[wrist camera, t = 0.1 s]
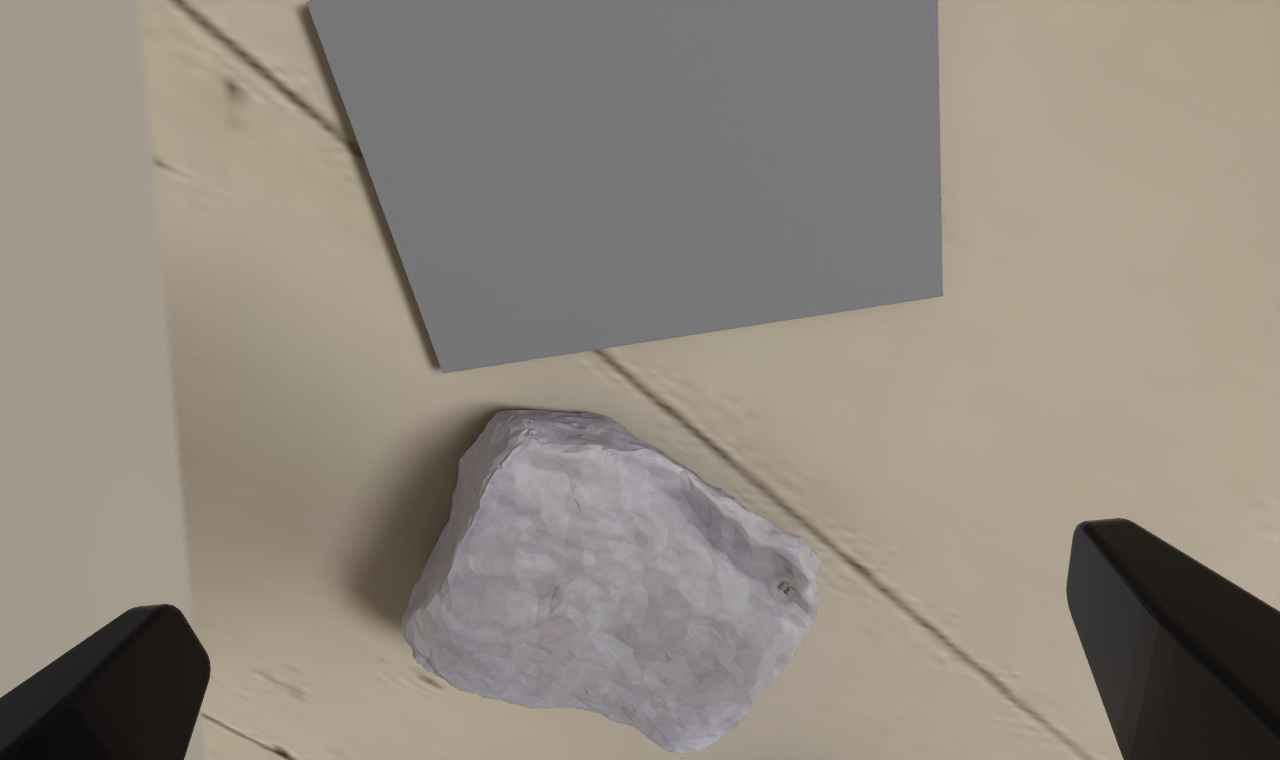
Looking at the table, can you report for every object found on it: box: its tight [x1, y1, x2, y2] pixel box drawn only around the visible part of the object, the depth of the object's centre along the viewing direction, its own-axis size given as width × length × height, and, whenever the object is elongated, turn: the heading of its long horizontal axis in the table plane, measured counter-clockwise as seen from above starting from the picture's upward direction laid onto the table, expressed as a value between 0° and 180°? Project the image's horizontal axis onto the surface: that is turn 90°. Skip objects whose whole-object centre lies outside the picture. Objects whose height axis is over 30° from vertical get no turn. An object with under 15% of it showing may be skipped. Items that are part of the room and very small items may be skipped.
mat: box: [306, 0, 943, 373], centre depth 21 cm, size 10×14×1 cm
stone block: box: [401, 410, 821, 754], centre depth 26 cm, size 12×5×10 cm
